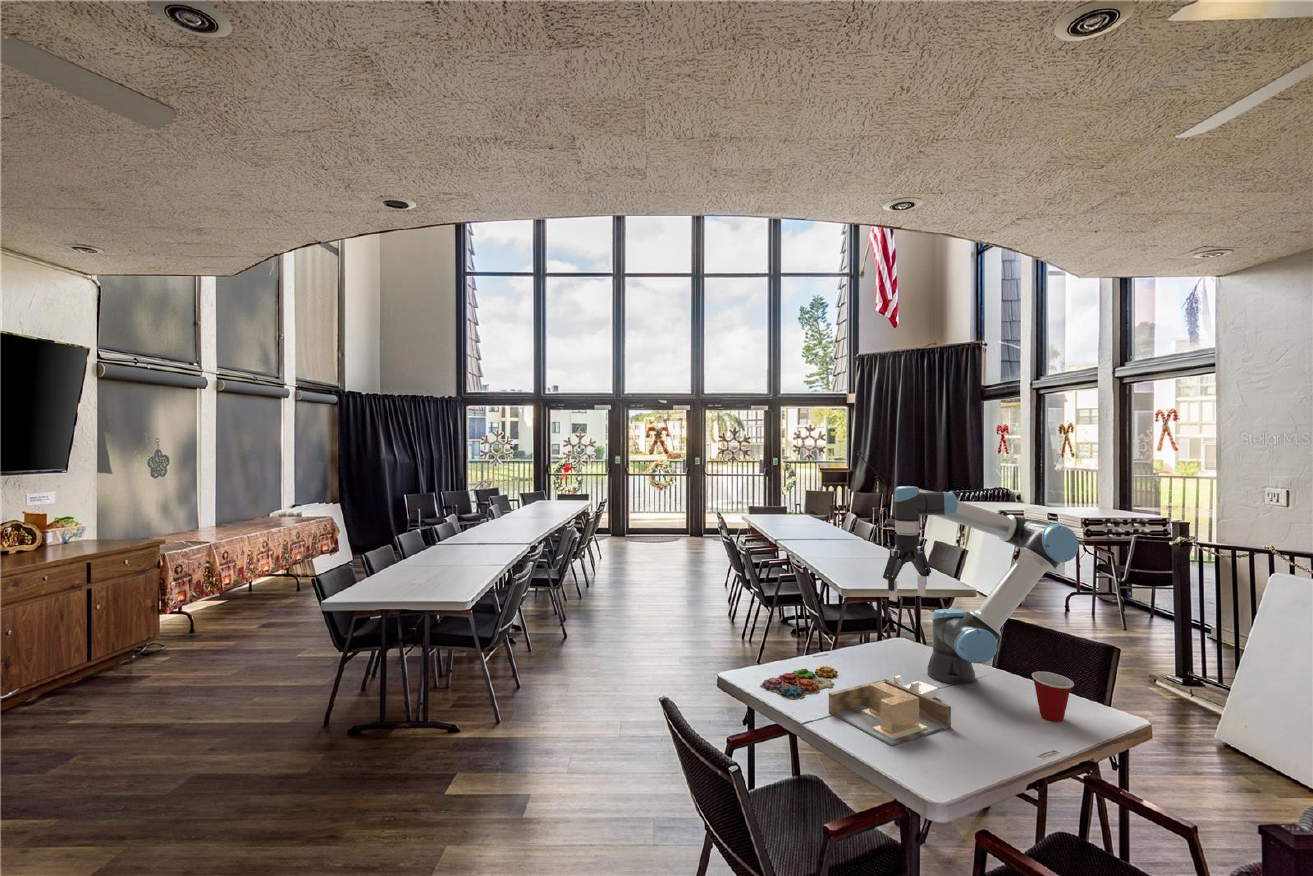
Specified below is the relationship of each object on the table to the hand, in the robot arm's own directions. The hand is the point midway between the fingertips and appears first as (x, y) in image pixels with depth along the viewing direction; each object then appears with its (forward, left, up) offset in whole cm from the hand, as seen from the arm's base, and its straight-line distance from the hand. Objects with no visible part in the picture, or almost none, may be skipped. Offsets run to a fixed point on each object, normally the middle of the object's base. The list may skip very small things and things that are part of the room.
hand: (907, 598), depth 213 cm
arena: (+23, +13, -31) cm, 40 cm away
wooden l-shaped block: (+26, +15, -29) cm, 42 cm away
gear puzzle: (+24, -21, -31) cm, 45 cm away
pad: (+26, +15, -30) cm, 42 cm away
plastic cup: (-21, +35, -31) cm, 51 cm away
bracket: (+3, +6, -31) cm, 32 cm away
